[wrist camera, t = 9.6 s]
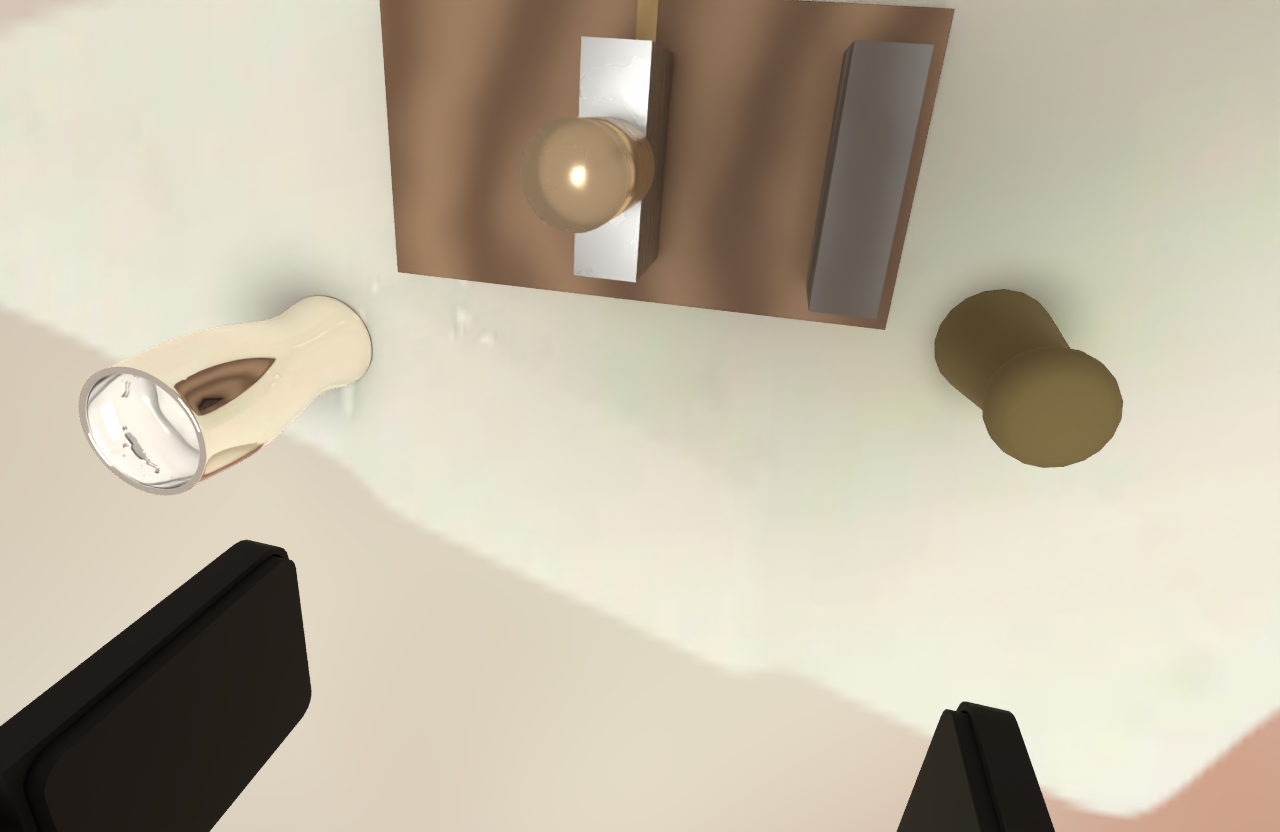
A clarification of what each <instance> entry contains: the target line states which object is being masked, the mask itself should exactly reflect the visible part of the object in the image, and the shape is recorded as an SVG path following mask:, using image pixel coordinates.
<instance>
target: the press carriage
mask: <svg viewBox="0 0 1280 832" xmlns="http://www.w3.org/2000/svg"><path fill="white" fill-rule="evenodd" d="M673 55H674V52H672V51H670V50H668V49H666V48H665V47H663V46H661V45H659V44H657V43H655V42H654V41H647V40H632V39H616V38H600V37H584V36H581V62H580V92H579V118H561V119H557V120H554V121H552V122H550V123H547V124H546V125H544V126H543V127H541V128H540V129H539V130H538V131H537V132H536V133H535V134H534V135H533V136H532V137H531V139H530V140H529V142H528V144H527V146H526V148H525V150H524V153H523V156H522V160H521V167H520V177H521V185H522V189H523V192H524V195H525V197H526V200H527V202H528V204H529V205H530V207H531V208H532V210H533V211H534V212H535V214H536V215H537V216H538V217H539V218H540V219H541V220H543V221H544V222H545V223H546V224H548V225H550V226H551V227H553V228H555V229H557V230H560V231H564V232H569V233H575V244H574V275H576V276H585V277H594V278H603V279H611V280H620V281H629V282H636V281H637V280H638V279H639V278H640V277H641V276H642V275H643V274H644V273H645V272H646V270H647V269H648V268H649V267H650V266H651V265H652V264H653V263H654V262H655V261H656V260H657V256H658V243H659V231H660V218H661V206H662V193H663V180H664V168H665V155H666V143H667V130H668V118H669V105H670V93H671V80H672V68H673Z"/></svg>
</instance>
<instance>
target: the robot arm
mask: <svg viewBox="0 0 1280 832" xmlns="http://www.w3.org/2000/svg"><path fill="white" fill-rule="evenodd" d="M310 699H311V684H310V676H309V668H308V660H307V652H306V644H305V637H304V628H303V620H302V612H301V604H300V596H299V589H298V581H297V573H296V567H295V564H294V562H293V561H292V560H289V558H288V555H287V552H286V551H285V550H284V549H283V548H280V547H277V546H272V545H268V544H263V543H259V542H255V541H250V540H243V541H240V542H238V543H236V544H234V545H233V546H232V547H230V548H229V549H228V550H227V551H225V552H224V553H223V554H221V555H220V556H219V557H218V558H216V559H215V560H214V561H212V562H211V563H210V564H209V565H207V566H206V567H205V568H204V569H202V570H201V571H200V572H198V573H197V574H196V575H194V576H193V577H192V578H191V579H189V580H188V581H187V582H185V583H184V584H183V585H182V586H180V587H179V588H178V589H176V590H175V591H174V592H173V593H171V594H170V595H169V596H168V597H166V598H165V599H164V600H162V601H161V602H160V603H158V604H157V605H156V606H155V607H153V608H152V609H151V610H149V611H148V612H147V613H146V614H144V615H143V616H142V617H140V618H139V619H138V620H137V621H135V622H134V623H133V624H132V625H130V626H129V627H128V628H126V629H125V630H124V631H122V632H121V633H120V634H119V635H117V636H116V637H115V638H113V639H112V640H111V641H110V642H108V643H107V644H106V645H104V646H103V647H102V648H101V649H99V650H98V651H97V652H95V653H94V654H93V655H92V656H90V657H89V658H88V659H87V660H85V661H84V662H83V663H81V664H80V665H79V666H77V667H76V668H75V669H74V670H72V671H71V672H70V673H68V674H67V675H66V676H65V677H63V678H62V679H61V680H60V681H58V682H57V683H56V684H54V685H53V686H52V687H50V688H49V689H48V690H47V691H45V692H44V693H43V694H41V695H40V696H39V697H38V698H36V699H35V700H34V701H32V702H31V703H30V704H29V705H27V706H26V707H25V708H23V709H22V710H21V711H20V712H18V713H17V714H16V715H14V716H13V717H12V718H11V719H9V720H8V721H7V722H5V723H4V724H3V725H1V726H0V832H210V830H211V829H212V828H213V827H214V825H215V824H216V823H217V822H218V821H219V819H220V818H221V817H222V816H223V814H224V813H225V812H226V811H227V809H228V808H229V807H230V806H231V805H232V803H233V802H234V801H235V800H236V798H237V797H238V796H239V795H240V793H241V792H242V791H243V790H244V789H245V787H246V786H247V785H248V784H249V782H250V781H251V780H252V779H253V777H254V776H255V775H256V774H257V772H258V771H259V770H260V769H261V768H262V766H263V765H264V764H265V763H266V762H267V760H268V759H269V758H270V757H271V755H272V754H273V753H274V751H275V750H276V749H277V748H278V747H279V746H280V744H281V743H282V742H283V741H284V739H285V738H286V737H287V736H288V734H289V733H290V732H291V731H292V730H293V728H294V727H295V725H297V723H298V722H299V721H300V720H301V718H302V717H303V716H304V714H305V712H306V710H307V708H308V706H309V703H310ZM897 832H1055V830H1054V827H1053V824H1052V822H1051V818H1050V816H1049V813H1048V810H1047V807H1046V804H1045V801H1044V798H1043V795H1042V793H1041V790H1040V787H1039V784H1038V781H1037V778H1036V775H1035V772H1034V769H1033V767H1032V764H1031V761H1030V758H1029V755H1028V752H1027V749H1026V746H1025V744H1024V741H1023V738H1022V735H1021V732H1020V729H1019V726H1018V723H1017V721H1016V719H1015V717H1014V715H1013V714H1012V713H1011V712H1010V711H1006V710H1001V709H997V708H992V707H988V706H983V705H979V704H974V703H970V702H962V703H961V704H960V705H959V707H958V708H957V710H956V711H953V710H949V709H946V710H944V711H943V713H942V715H941V717H940V720H939V723H938V725H937V728H936V730H935V733H934V736H933V738H932V741H931V744H930V746H929V749H928V751H927V754H926V757H925V760H924V762H923V764H922V767H921V770H920V772H919V775H918V777H917V780H916V783H915V785H914V788H913V790H912V793H911V796H910V798H909V801H908V803H907V806H906V809H905V811H904V814H903V816H902V819H901V822H900V824H899V827H898V829H897Z"/></svg>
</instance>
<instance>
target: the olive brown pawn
mask: <svg viewBox="0 0 1280 832" xmlns="http://www.w3.org/2000/svg"><path fill="white" fill-rule="evenodd" d="M935 359H936V362H937V365H938V367H939V370H940V372H941V374H942V375H943V376H944V377H945V378H946V379H947V380H948V381H949V383H950V384H951V385H952V386H954V387H955V388H956V389H957V390H959V391H960V392H961V393H962V394H963V395H965V396H966V397H967V398H968V399H970V400H971V401H972V402H973V403H974V404H976V405H977V406H978V407H979V408H981V409H982V410H983V420H984V423H985V425H986V428H987V431H988V433H989V435H990V437H991V439H992V440H993V441H994V442H995V443H996V444H997V445H998V446H999V448H1000V449H1001V450H1002V451H1003V452H1005V453H1006V454H1008V455H1010V456H1012V457H1013V458H1015V459H1017V460H1019V461H1021V462H1022V463H1024V464H1028V465H1033V466H1038V467H1042V468H1047V467H1064V466H1067V465H1071V464H1074V463H1077V462H1080V461H1084V460H1085V459H1087V458H1089V457H1090V456H1092V455H1094V454H1095V453H1097V452H1098V451H1100V450H1101V449H1102V448H1103V447H1104V446H1105V444H1106V443H1107V442H1108V441H1109V440H1110V439H1111V438H1112V437H1113V435H1114V433H1115V431H1116V429H1117V427H1118V425H1119V423H1120V421H1121V418H1122V407H1123V400H1122V397H1121V393H1120V390H1119V387H1118V384H1117V381H1116V379H1115V377H1114V376H1113V375H1112V374H1111V373H1110V371H1109V370H1108V369H1107V368H1106V367H1105V365H1104V364H1102V363H1101V362H1100V361H1098V360H1096V359H1095V358H1093V357H1091V356H1089V355H1088V354H1086V353H1084V352H1082V351H1079V350H1074V349H1070V347H1069V346H1068V344H1067V342H1066V341H1065V339H1064V338H1063V336H1062V334H1061V333H1060V331H1059V330H1058V328H1057V326H1056V325H1055V323H1054V322H1053V320H1052V318H1051V317H1050V315H1049V314H1048V313H1047V311H1046V310H1045V309H1044V308H1043V307H1042V305H1041V304H1040V303H1039V302H1038V301H1036V300H1035V299H1033V298H1031V297H1029V296H1027V295H1026V294H1024V293H1021V292H1016V291H1010V290H1005V289H1003V290H993V291H985V292H982V293H980V294H977V295H975V296H972V297H969V298H967V299H965V300H964V301H963V302H962V303H960V304H959V305H958V306H956V307H955V308H954V309H952V310H951V311H950V313H949V314H948V315H947V317H946V318H945V319H944V321H943V322H942V323H941V325H940V327H939V330H938V333H937V336H936V339H935Z"/></svg>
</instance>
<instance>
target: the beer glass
mask: <svg viewBox="0 0 1280 832" xmlns="http://www.w3.org/2000/svg"><path fill="white" fill-rule="evenodd" d="M371 356H372V347H371V341H370V337H369V334H368V331H367V329H366V327H365V325H364V323H363V322H362V320H361V319H360V318H359V316H358V315H357V314H356V313H355V312H354V311H353V310H352V309H351V308H350V307H348V306H347V305H346V304H344V303H342V302H340V301H339V300H336V299H334V298H331V297H326V296H311V297H307V298H304V299H302V300H300V301H298V302H297V303H295V304H294V305H292V306H291V307H290V308H289V309H287V310H286V311H285V312H283V313H282V314H280V315H279V316H276V317H274V318H271V319H268V320H262V321H256V322H248V323H240V324H233V325H226V326H219V327H214V328H209V329H204V330H199V331H195V332H192V333H189V334H185V335H182V336H179V337H176V338H173V339H170V340H168V341H165V342H163V343H160V344H158V345H155V346H153V347H150V348H148V349H146V350H144V351H142V352H140V353H137V354H135V355H133V356H131V357H129V358H127V359H125V360H123V361H121V362H119V363H117V364H115V365H113V366H111V367H108V368H105V369H102V370H100V371H98V372H96V373H95V374H94V375H92V376H91V377H90V378H89V379H88V380H87V382H86V383H85V385H84V386H83V389H82V391H81V394H80V399H79V415H80V421H81V425H82V428H83V431H84V433H85V436H86V438H87V440H88V442H89V444H90V446H91V447H92V449H93V451H95V453H96V455H97V456H98V457H99V459H100V460H101V461H102V462H103V463H104V464H105V465H106V467H107V468H108V469H110V470H111V471H112V472H113V473H114V474H115V475H117V476H118V477H119V478H120V479H122V480H123V481H125V482H126V483H128V484H130V485H131V486H133V487H135V488H137V489H140V490H142V491H145V492H148V493H152V494H157V495H176V494H180V493H183V492H185V491H187V490H189V489H191V488H192V487H193V486H195V485H197V484H199V483H201V482H203V481H205V480H207V479H209V478H211V477H213V476H215V475H217V474H219V473H221V472H223V471H225V470H227V469H228V468H231V467H233V466H234V465H236V464H238V463H239V462H241V461H243V460H245V459H246V458H248V457H250V456H251V455H253V454H254V453H256V452H257V451H259V450H260V449H261V448H263V447H264V446H266V445H267V444H269V443H270V442H271V441H272V440H273V439H275V438H276V437H277V436H278V435H279V434H280V433H282V432H283V431H284V430H285V429H286V428H287V427H288V426H289V425H290V424H291V423H292V422H293V421H294V420H295V419H296V418H297V417H298V416H299V415H300V414H301V413H302V412H303V411H304V410H305V409H306V408H307V407H308V406H309V405H310V404H311V403H312V402H313V401H314V400H315V399H316V398H317V397H319V396H320V395H321V394H323V393H326V392H327V391H329V390H333V389H336V388H340V387H343V386H346V385H349V384H351V383H353V382H355V381H357V380H358V379H360V378H361V377H362V376H363V374H364V373H365V372H366V370H367V369H368V367H369V364H370V361H371Z"/></svg>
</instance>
